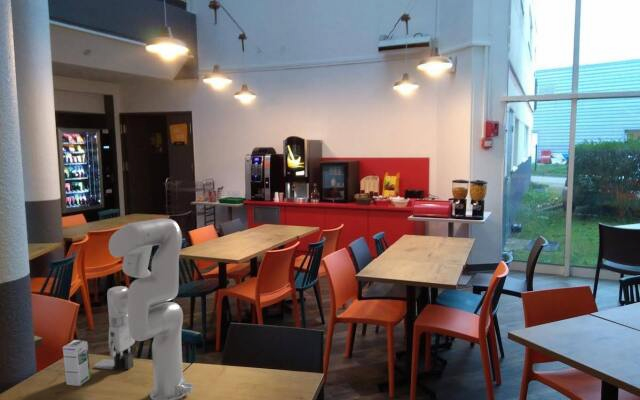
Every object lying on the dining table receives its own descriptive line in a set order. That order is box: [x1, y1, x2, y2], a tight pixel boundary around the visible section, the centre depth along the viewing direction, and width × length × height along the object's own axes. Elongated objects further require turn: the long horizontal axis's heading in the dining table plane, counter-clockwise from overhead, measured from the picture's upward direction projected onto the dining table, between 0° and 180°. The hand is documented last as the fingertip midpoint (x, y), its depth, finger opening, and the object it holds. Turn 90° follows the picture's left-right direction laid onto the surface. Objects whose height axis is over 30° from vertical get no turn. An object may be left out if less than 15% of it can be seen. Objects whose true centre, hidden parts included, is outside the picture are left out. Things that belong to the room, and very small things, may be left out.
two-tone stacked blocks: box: [94, 352, 134, 370], centre depth 179 cm, size 14×5×5 cm, turn 77°
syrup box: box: [62, 339, 92, 387], centre depth 167 cm, size 6×6×14 cm
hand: (123, 365), depth 178 cm, fingers closed on two-tone stacked blocks, 2 cm apart
